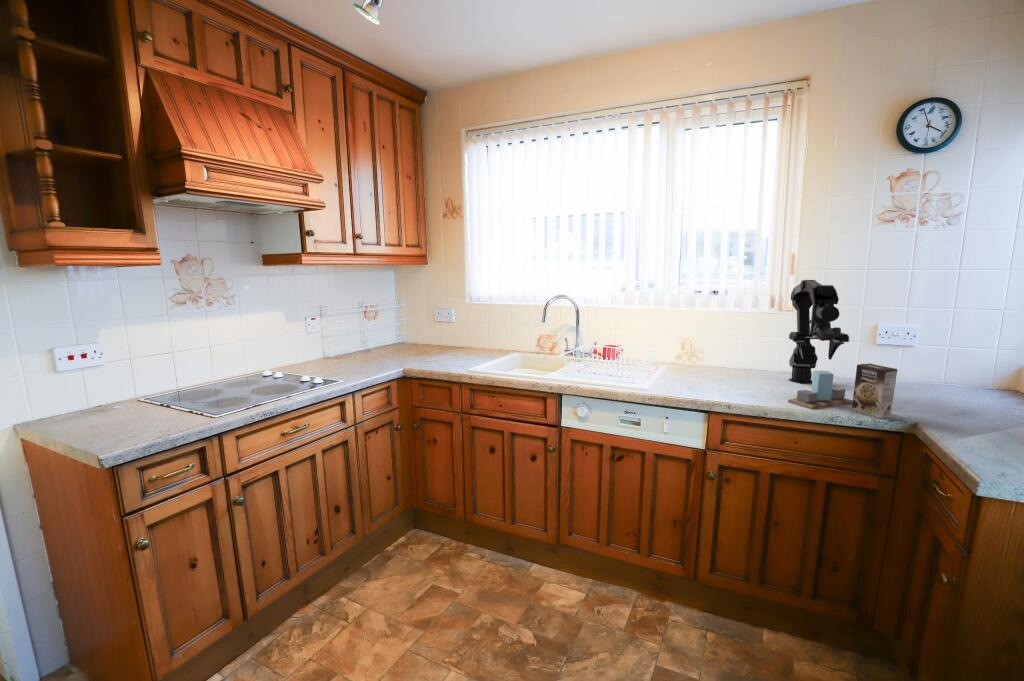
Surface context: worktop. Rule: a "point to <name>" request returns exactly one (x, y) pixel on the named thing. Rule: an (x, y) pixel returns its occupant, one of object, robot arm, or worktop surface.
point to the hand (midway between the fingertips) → (816, 359)
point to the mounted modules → (812, 396)
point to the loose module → (822, 384)
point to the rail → (819, 400)
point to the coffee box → (874, 390)
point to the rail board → (821, 403)
